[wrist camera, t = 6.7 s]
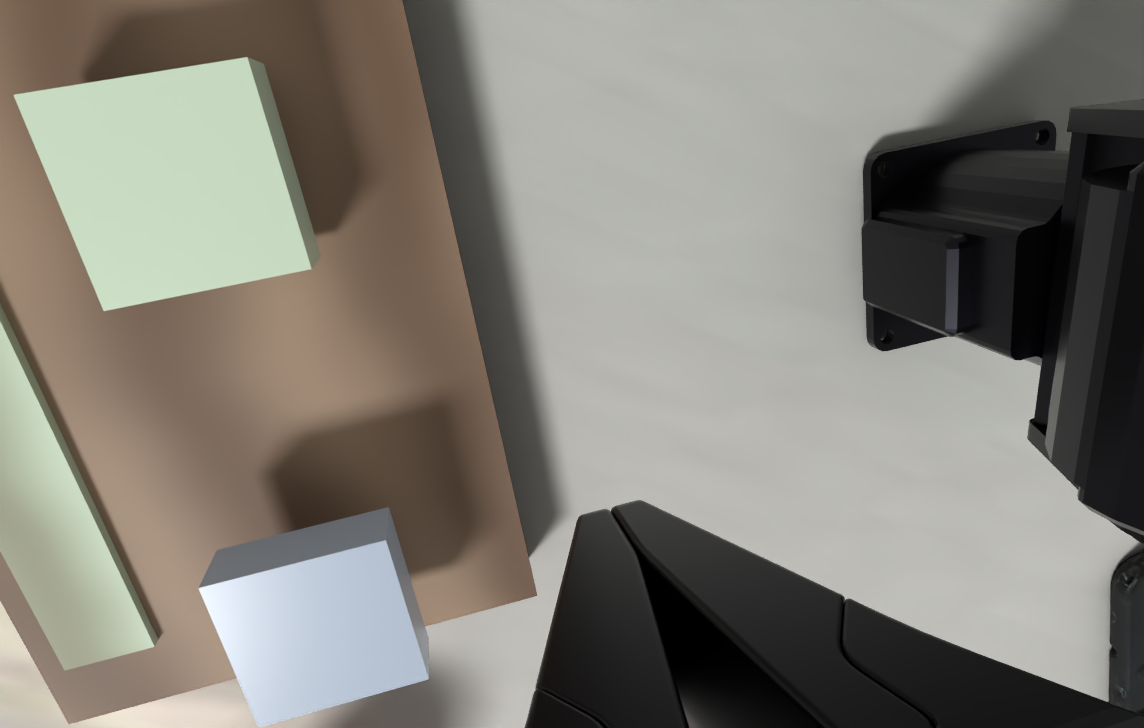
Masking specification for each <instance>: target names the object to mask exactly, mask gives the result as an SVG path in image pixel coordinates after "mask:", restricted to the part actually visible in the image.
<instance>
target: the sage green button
mask: <svg viewBox="0 0 1144 728" xmlns="http://www.w3.org/2000/svg"><path fill="white" fill-rule="evenodd" d="M14 98H15V100H16V103H17V105H18V107H19V110H20V112H21V115H22V117H23V119H24V122H25V124H26V126H27V129H28V131H29V134H30V136H31V138H32V141H33V143H34V146H35V148H36V150H37V153H38V155H39V158H40V160H41V162H42V165H43V167H44V170H45V172H46V174H47V177H48V179H49V181H50V184H51V186H52V189H53V191H54V193H55V196H56V198H57V201H58V203H59V205H60V208H61V210H62V213H63V215H64V217H65V220H66V222H67V225H68V227H69V229H70V232H71V234H72V237H73V239H74V241H75V244H76V246H77V248H78V251H79V253H80V256H81V258H82V260H83V263H84V265H85V268H86V270H87V272H88V275H89V277H90V280H91V282H92V284H93V287H94V289H95V292H96V294H97V296H98V299H99V301H100V303H101V306H102V308H103V311H107V310H112V309H117V308H122V307H127V306H132V305H137V304H142V303H147V302H152V301H157V300H162V299H167V298H172V297H177V296H181V295H186V294H191V293H196V292H201V291H206V290H211V289H216V288H221V287H226V286H231V285H236V284H241V283H246V282H251V281H256V280H260V279H265V278H270V277H275V276H280V275H285V274H290V273H295V272H300V271H305V270H310V269H312V268H313V267H314V265H315V264H316V263H317V262H318V260H319V259H320V258H321V255H320V251H319V248H318V244H317V241H316V238H315V234H314V231H313V228H312V224H311V221H310V218H309V214H308V211H307V207H306V204H305V201H304V197H303V194H302V191H301V187H300V184H299V180H298V177H297V174H296V170H295V167H294V164H293V160H292V157H291V154H290V150H289V147H288V143H287V140H286V137H285V133H284V130H283V127H282V123H281V120H280V116H279V113H278V110H277V106H276V103H275V100H274V96H273V93H272V90H271V86H270V83H269V79H268V76H267V73H266V69H265V66H264V64H263V63H261V62H258V61H256V60H253V59H251V58H248V57H245V58H238V59H232V60H226V61H220V62H214V63H207V64H201V65H195V66H189V67H183V68H176V69H170V70H164V71H158V72H152V73H146V74H139V75H133V76H127V77H121V78H115V79H108V80H102V81H96V82H90V83H84V84H77V85H71V86H65V87H59V88H53V89H46V90H40V91H34V92H28V93H22V94H15V95H14Z"/></svg>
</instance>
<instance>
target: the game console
mask: <svg viewBox="0 0 1144 728" xmlns="http://www.w3.org/2000/svg"><path fill="white" fill-rule="evenodd" d="M1110 633H1111V635H1110V644H1111V645H1112V646H1113V647H1114V649H1112V650H1111V651H1110V687H1109V703H1111V704H1113V705H1116V706H1119V707H1122V708H1125V709H1128V710H1131V711H1134V712H1137V713H1140V714H1143V715H1144V552H1142V553H1140V554H1138V555H1136V556H1134V557H1132V558H1130V559H1128V560H1126V561H1125V562H1124V563H1123V564H1122V565H1121V566H1120V567H1119V568H1118V569H1117V571H1116V573H1115V574H1114V577H1113V580H1112V583H1111V626H1110Z"/></svg>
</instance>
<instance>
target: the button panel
mask: <svg viewBox="0 0 1144 728" xmlns="http://www.w3.org/2000/svg"><path fill="white" fill-rule="evenodd" d="M245 57H248V58H251V59H253V60H256V61H258V62H261V63H263V64H264V66H265V69H266V73H267V76H268V79H269V83H270V86H271V90H272V93H273V96H274V100H275V103H276V106H277V110H278V113H279V116H280V120H281V123H282V127H283V130H284V133H285V137H286V140H287V143H288V147H289V150H290V154H291V157H292V160H293V164H294V167H295V170H296V174H297V177H298V180H299V184H300V187H301V191H302V194H303V197H304V201H305V204H306V207H307V211H308V214H309V218H310V221H311V224H312V228H313V231H314V234H315V238H316V241H317V244H318V248H319V251H320V255H321V258H320V259H319V260H318V262H317V263H316V264H315V265H314V267H313V268H312V269H310V270H305V271H300V272H295V273H290V274H285V275H280V276H275V277H270V278H265V279H260V280H256V281H251V282H246V283H241V284H236V285H231V286H226V287H221V288H216V289H211V290H206V291H201V292H196V293H191V294H186V295H181V296H177V297H172V298H167V299H162V300H157V301H152V302H147V303H142V304H137V305H132V306H127V307H122V308H117V309H112V310H107V311H103V308H102V306H101V303H100V301H99V299H98V296H97V294H96V292H95V289H94V287H93V284H92V282H91V280H90V277H89V275H88V272H87V270H86V268H85V265H84V263H83V260H82V258H81V256H80V253H79V251H78V248H77V246H76V244H75V241H74V239H73V237H72V234H71V232H70V229H69V227H68V225H67V222H66V220H65V217H64V215H63V213H62V210H61V208H60V205H59V203H58V201H57V198H56V196H55V193H54V191H53V189H52V186H51V184H50V181H49V179H48V177H47V174H46V172H45V170H44V167H43V165H42V162H41V160H40V158H39V155H38V153H37V150H36V148H35V146H34V143H33V141H32V138H31V136H30V134H29V131H28V129H27V126H26V124H25V122H24V119H23V117H22V115H21V112H20V110H19V107H18V105H17V103H16V100H15V98H14V95H15V94H22V93H28V92H34V91H40V90H46V89H53V88H59V87H65V86H71V85H77V84H84V83H90V82H96V81H102V80H108V79H115V78H121V77H127V76H133V75H139V74H146V73H152V72H158V71H164V70H170V69H176V68H183V67H189V66H195V65H201V64H207V63H214V62H220V61H226V60H232V59H238V58H245ZM387 507H389V509H390V513H391V516H392V519H393V523H394V526H395V529H396V533H397V536H398V539H399V543H400V546H401V549H402V553H403V556H404V559H405V563H406V566H407V569H408V572H409V576H410V579H411V582H412V586H413V589H414V592H415V596H416V599H417V602H418V606H419V609H420V612H421V616H422V619H423V622H424V626H428V625H432V624H436V623H439V622H443V621H447V620H450V619H454V618H458V617H461V616H465V615H469V614H472V613H476V612H479V611H483V610H487V609H490V608H494V607H498V606H501V605H505V604H509V603H512V602H516V601H520V600H523V599H527V598H531V597H534V596H537V592H536V588H535V584H534V579H533V575H532V570H531V566H530V562H529V557H528V553H527V548H526V544H525V539H524V535H523V531H522V526H521V522H520V517H519V513H518V509H517V504H516V500H515V495H514V491H513V486H512V482H511V478H510V473H509V469H508V464H507V460H506V456H505V451H504V447H503V442H502V438H501V434H500V429H499V425H498V420H497V416H496V411H495V407H494V403H493V398H492V394H491V389H490V385H489V381H488V376H487V372H486V367H485V363H484V358H483V354H482V350H481V345H480V341H479V336H478V332H477V328H476V323H475V319H474V314H473V310H472V306H471V301H470V297H469V292H468V288H467V283H466V279H465V275H464V270H463V266H462V261H461V257H460V253H459V248H458V244H457V239H456V235H455V230H454V226H453V222H452V217H451V213H450V208H449V204H448V200H447V195H446V191H445V186H444V182H443V178H442V173H441V169H440V164H439V160H438V155H437V151H436V147H435V142H434V138H433V133H432V129H431V125H430V120H429V116H428V111H427V107H426V102H425V98H424V94H423V89H422V85H421V80H420V76H419V72H418V67H417V63H416V58H415V54H414V50H413V45H412V41H411V36H410V32H409V27H408V23H407V19H406V14H405V10H404V5H403V1H402V0H0V601H1V603H2V605H3V606H4V608H5V610H6V612H7V614H8V615H9V617H10V619H11V621H12V623H13V624H14V626H15V628H16V630H17V632H18V633H19V635H20V637H21V639H22V641H23V642H24V644H25V646H26V648H27V650H28V651H29V653H30V655H31V657H32V659H33V660H34V662H35V664H36V666H37V668H38V669H39V671H40V673H41V675H42V677H43V678H44V680H45V682H46V684H47V686H48V687H49V689H50V691H51V693H52V695H53V696H54V698H55V700H56V702H57V704H58V705H59V707H60V709H61V711H62V713H63V714H64V716H65V718H66V720H67V722H68V723H69V724H71V723H75V722H78V721H82V720H86V719H89V718H93V717H97V716H100V715H104V714H108V713H111V712H115V711H119V710H122V709H126V708H129V707H133V706H137V705H140V704H144V703H148V702H151V701H155V700H159V699H162V698H166V697H170V696H173V695H177V694H181V693H184V692H188V691H191V690H195V689H199V688H202V687H206V686H210V685H213V684H217V683H221V682H224V681H228V680H232V679H235V678H237V677H236V674H235V672H234V670H233V668H232V665H231V663H230V661H229V658H228V656H227V654H226V651H225V649H224V647H223V644H222V642H221V640H220V637H219V635H218V633H217V630H216V628H215V626H214V623H213V621H212V619H211V616H210V614H209V612H208V609H207V607H206V605H205V603H204V600H203V598H202V596H201V593H200V591H199V589H198V588H199V586H200V584H201V582H202V580H203V577H204V575H205V573H206V571H207V569H208V567H209V565H210V563H211V561H212V559H213V557H214V555H215V553H216V551H217V550H219V549H223V548H227V547H231V546H235V545H239V544H243V543H247V542H251V541H255V540H259V539H263V538H267V537H271V536H275V535H279V534H283V533H287V532H291V531H295V530H299V529H303V528H307V527H311V526H315V525H319V524H323V523H327V522H331V521H335V520H339V519H343V518H347V517H351V516H355V515H359V514H363V513H367V512H371V511H375V510H379V509H383V508H387Z"/></svg>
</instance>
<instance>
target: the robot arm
mask: <svg viewBox="0 0 1144 728" xmlns="http://www.w3.org/2000/svg"><path fill="white" fill-rule="evenodd" d="M1038 131H1039V139H1038V141H1037V142H1036V139H1035V138H1036V134H1037V133H1038ZM1067 132H1072V137H1071V145H1070V151H1055V146H1056V128H1055V126H1054V124H1053V123H1052V122H1050V121H1029V122H1024V123H1019V124H1014V125H1009V126H1004V127H999V128H995V129H990V130H985V131H980V132H975V133H970V134H965V135H960V136H955V137H950V138H945V139H940V140H935V141H930V142H925V143H920V144H915V145H910V146H905V147H901V148H896V149H891V150H886V151H881V152H877V153H874V154H872V155H871V156H870V157H869V158H868V159H867V160H866V162H865V164H864V168H863V194H864V225H863V227H862V266H863V299H864V300H865V301H866V327H867V340H868V343H869V344H870V345H871V346H872V347H875V348H877V349H879V350H881V351H889V350H893V349H897V348H901V347H906V346H910V345H914V344H918V343H922V342H926V341H930V340H934V339H938V338H943V337H947V336H949V337H954V336H955V337H958V338H960V339H963V340H965V341H968V342H970V343H973V344H976V345H978V346H981V347H983V348H986V349H988V350H991V351H993V352H996V353H999V354H1001V355H1004V356H1006V357H1009V358H1011V359H1014V360H1023V359H1024V360H1027V361H1030V362H1032V363H1035V364H1037V365H1040V366H1041V372H1040V379H1039V387H1038V394H1037V402H1036V410H1035V417H1034V418H1033V419H1030V421H1029V429H1028V436H1027V438H1028V440H1029V441H1030V442H1031V443H1032V444H1033V445H1034V446H1035V447H1036V448H1037V449H1038V450H1039V451H1040V452H1041V453H1042V454H1043V455H1044V456H1045V457H1046V458H1047V459H1048V460H1049V461H1050V462H1051V463H1052V464H1053V465H1054V466H1055V467H1056V468H1057V469H1058V470H1059V471H1060V472H1061V473H1062V474H1063V475H1064V476H1065V477H1066V478H1067V479H1068V480H1069V481H1070V482H1071V483H1072V484H1073V485H1074V486H1075V487H1076V488H1077V489H1078V495H1077V496H1078V500H1079V501H1081V502H1082V503H1083V504H1084V505H1085V506H1086V507H1087V508H1088V509H1089V510H1091V511H1093V512H1095V513H1096V514H1098V515H1100V516H1102V517H1104V518H1106V519H1108V520H1109V521H1110V522H1112V523H1113V524H1114V525H1115V526H1117V527H1118V528H1119V529H1120V530H1122V531H1124V532H1125V533H1127V534H1129V535H1131V536H1132V537H1133V538H1135V539H1136V540H1137V541H1139V542H1141V543H1144V99H1140V100H1132V101H1123V102H1115V103H1107V104H1098V105H1090V106H1082V107H1074V108H1070V113H1069V121H1068V128H1067ZM882 162H883V163H884V165H885V170H884V172H883V174H882V175H881V176H879V174H878V167H879V165H880V164H881V163H882ZM886 330H887V334H886V337H885V338H884V339H883V340H881V339H880V338H881V334H882V333H883V332H884V331H886ZM525 728H1144V715H1143V714H1140V713H1137V712H1134V711H1131V710H1128V709H1125V708H1122V707H1119V706H1116V705H1113V704H1111V703H1108V702H1105V701H1103V700H1100V699H1097V698H1095V697H1092V696H1089V695H1087V694H1084V693H1081V692H1079V691H1076V690H1073V689H1071V688H1068V687H1065V686H1063V685H1060V684H1057V683H1055V682H1052V681H1049V680H1047V679H1044V678H1041V677H1039V676H1036V675H1033V674H1031V673H1028V672H1025V671H1023V670H1020V669H1017V668H1015V667H1012V666H1009V665H1007V664H1004V663H1001V662H999V661H996V660H993V659H991V658H988V657H985V656H983V655H980V654H977V653H975V652H972V651H970V650H967V649H965V648H962V647H960V646H957V645H955V644H952V643H950V642H947V641H945V640H942V639H940V638H937V637H935V636H932V635H930V634H927V633H924V632H922V631H920V630H918V629H915V628H913V627H911V626H909V625H906V624H904V623H902V622H900V621H897V620H895V619H893V618H891V617H888V616H886V615H884V614H882V613H879V612H877V611H875V610H873V609H871V608H869V607H867V606H864V605H862V604H860V603H858V602H856V601H854V600H852V599H846V600H845V598H844V596H842V595H841V594H839V593H836V592H834V591H832V590H830V589H828V588H826V587H824V586H822V585H820V584H817V583H815V582H813V581H811V580H809V579H807V578H805V577H803V576H801V575H798V574H796V573H794V572H792V571H790V570H788V569H786V568H784V567H782V566H779V565H777V564H775V563H773V562H771V561H769V560H767V559H765V558H763V557H760V556H758V555H756V554H754V553H752V552H750V551H748V550H746V549H744V548H741V547H739V546H737V545H735V544H733V543H731V542H729V541H727V540H724V539H722V538H720V537H718V536H716V535H714V534H712V533H710V532H708V531H705V530H703V529H701V528H699V527H697V526H695V525H693V524H691V523H689V522H686V521H684V520H682V519H680V518H678V517H676V516H674V515H672V514H670V513H667V512H665V511H663V510H661V509H659V508H657V507H655V506H653V505H651V504H648V503H646V502H644V501H641V500H637V501H633V502H629V503H625V504H621V505H618V506H615V507H613V508H612V510H611V512H610V511H609V510H607V509H602V510H599V511H595V512H591V513H587V514H583V515H581V516H580V517H579V518H578V520H577V523H576V527H575V531H574V535H573V539H572V543H571V547H570V551H569V555H568V559H567V563H566V567H565V571H564V575H563V579H562V583H561V587H560V591H559V595H558V599H557V603H556V607H555V611H554V615H553V619H552V623H551V627H550V631H549V635H548V639H547V643H546V647H545V651H544V655H543V659H542V663H541V667H540V671H539V675H538V679H537V683H536V691H535V692H534V694H533V698H532V702H531V706H530V710H529V714H528V717H527V721H526V724H525Z"/></svg>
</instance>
